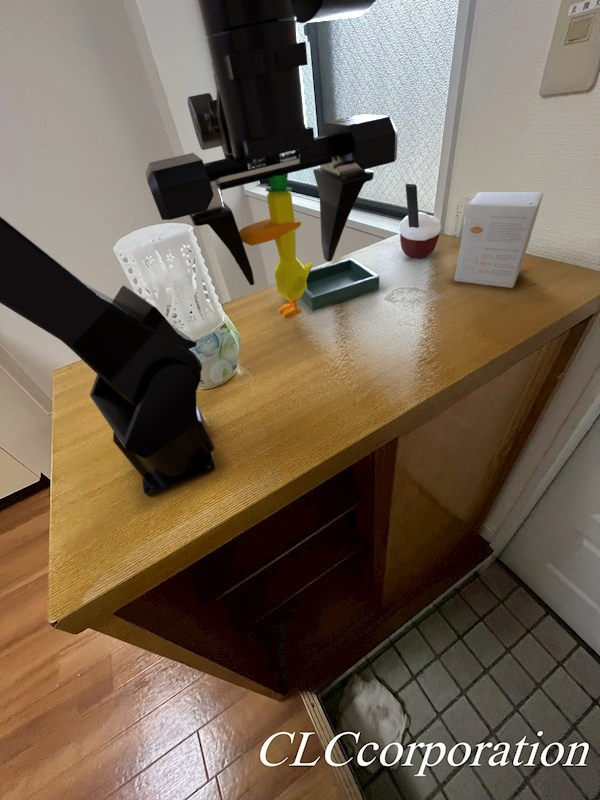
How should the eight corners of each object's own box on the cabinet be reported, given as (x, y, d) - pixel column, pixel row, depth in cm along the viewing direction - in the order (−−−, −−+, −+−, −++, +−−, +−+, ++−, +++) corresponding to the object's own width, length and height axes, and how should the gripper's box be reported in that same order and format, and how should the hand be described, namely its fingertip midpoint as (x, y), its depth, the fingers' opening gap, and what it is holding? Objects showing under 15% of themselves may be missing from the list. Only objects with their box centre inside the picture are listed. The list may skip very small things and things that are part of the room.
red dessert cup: (423, 242, 63) (432, 165, 54) (449, 251, 58) (464, 169, 50) (382, 258, 60) (384, 179, 52) (406, 269, 56) (414, 185, 48)
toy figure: (265, 332, 33) (234, 188, 24) (252, 316, 35) (219, 182, 27) (326, 309, 34) (315, 168, 26) (309, 296, 37) (295, 164, 29)
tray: (312, 311, 50) (311, 298, 49) (291, 288, 56) (289, 276, 55) (379, 289, 52) (379, 276, 51) (352, 269, 58) (351, 257, 57)
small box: (519, 272, 50) (545, 191, 43) (513, 289, 47) (539, 205, 40) (462, 266, 54) (477, 190, 47) (452, 281, 51) (467, 203, 44)
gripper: (332, 26, 29) (341, 224, 39) (105, 66, 25) (183, 269, 36) (409, -2, 21) (395, 255, 32) (96, 51, 18) (199, 316, 28)
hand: (290, 271), depth 32 cm, fingers closed on toy figure, 7 cm apart
